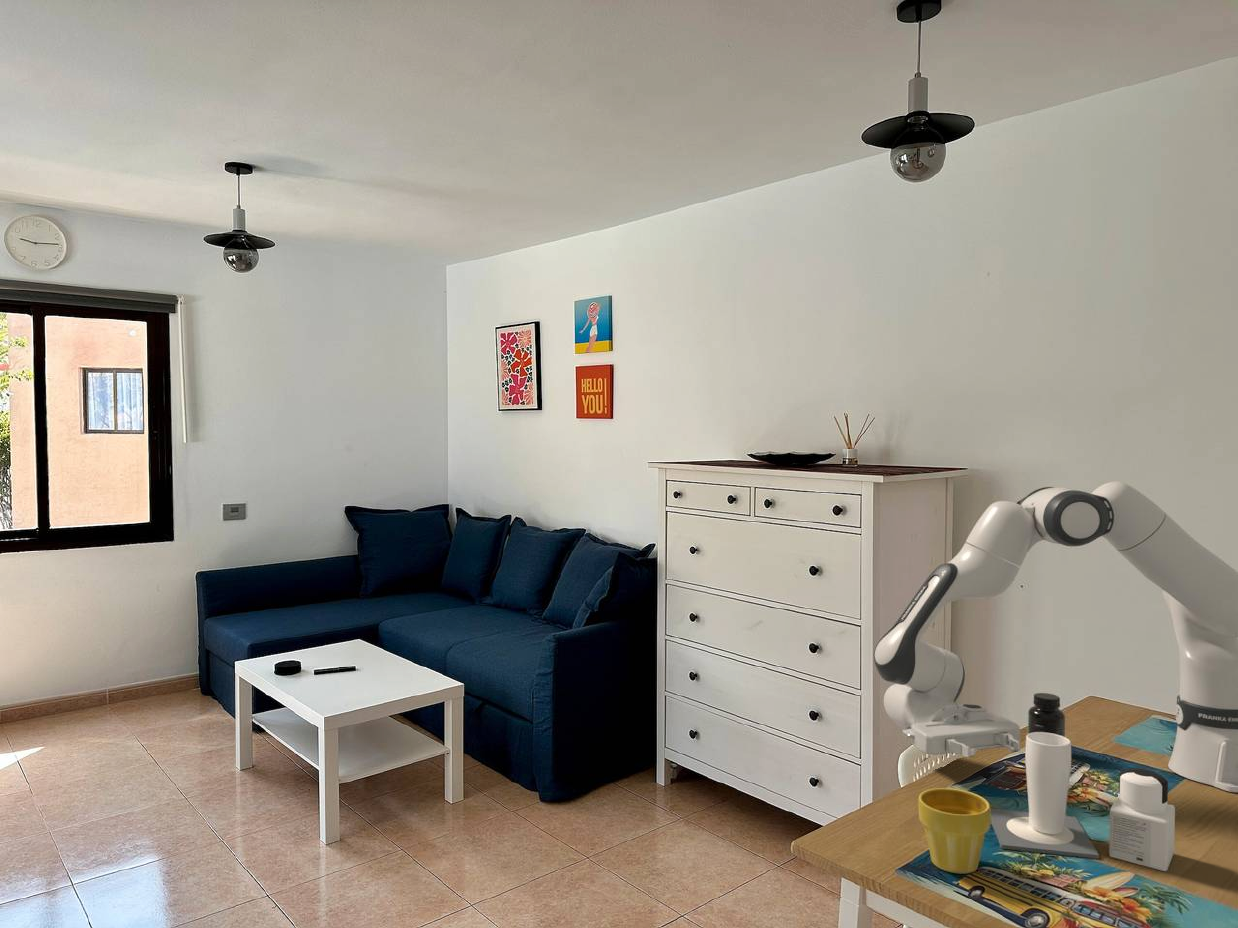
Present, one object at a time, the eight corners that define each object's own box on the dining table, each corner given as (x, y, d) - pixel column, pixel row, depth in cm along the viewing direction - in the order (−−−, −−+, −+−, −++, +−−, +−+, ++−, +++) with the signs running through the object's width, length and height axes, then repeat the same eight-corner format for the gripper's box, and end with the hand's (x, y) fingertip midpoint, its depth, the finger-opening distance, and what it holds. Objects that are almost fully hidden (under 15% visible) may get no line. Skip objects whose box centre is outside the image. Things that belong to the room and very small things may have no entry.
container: (1118, 839, 142) (1119, 760, 141) (1174, 853, 137) (1176, 771, 136) (1108, 857, 136) (1110, 774, 135) (1166, 872, 131) (1168, 787, 130)
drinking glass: (1075, 839, 140) (1077, 746, 140) (1031, 836, 141) (1032, 744, 141) (1061, 821, 147) (1063, 732, 146) (1018, 818, 148) (1020, 730, 148)
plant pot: (903, 855, 136) (903, 793, 136) (953, 842, 140) (954, 782, 140) (953, 886, 127) (953, 819, 127) (1005, 871, 131) (1006, 807, 131)
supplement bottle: (1020, 751, 181) (1021, 694, 181) (1041, 745, 185) (1042, 689, 184) (1050, 762, 175) (1051, 702, 175) (1071, 756, 178) (1072, 698, 178)
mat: (1075, 820, 149) (1075, 816, 149) (1099, 858, 135) (1099, 854, 135) (986, 811, 152) (987, 808, 152) (1001, 848, 139) (1001, 844, 138)
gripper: (897, 713, 164) (943, 737, 151) (989, 704, 170) (1042, 727, 156) (896, 746, 164) (943, 773, 151) (988, 736, 170) (1041, 762, 157)
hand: (994, 750), depth 154 cm, fingers open, 8 cm apart
